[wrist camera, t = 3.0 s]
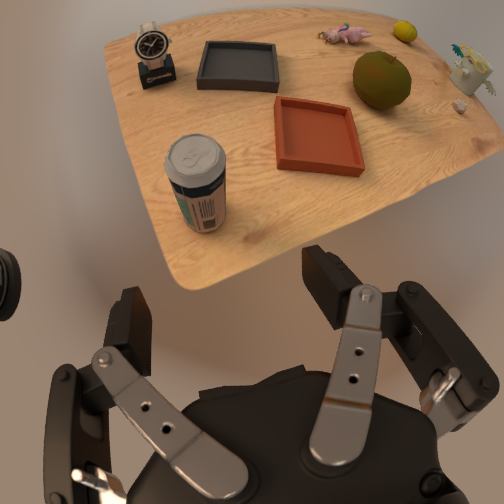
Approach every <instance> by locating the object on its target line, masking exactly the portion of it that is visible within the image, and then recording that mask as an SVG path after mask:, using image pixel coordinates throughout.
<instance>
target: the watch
mask: <svg viewBox="0 0 504 504" xmlns="http://www.w3.org/2000/svg"><path fill="white" fill-rule="evenodd" d="M169 43H172V40H171V38H169V39H168V37H167V36H166V35H165V33H164V32H163V31H162V30H161V28H160V27H159V26H156V23H155V22H151V23H147V24H144V25H140V31H139V32H138V34H137V39H136V42H135V46H134V48H135V53H136V55H137V56H138V57H139V58H140V59H141V61H142V62H139V63H138V69H139V76H140V80H141V83H142V87H143V90H144V89H147V88H150V87H153V86H157V85H160V84H163V83H167V82H170V81H174V80H176V74H175V67H174V63H173V60H172V57H171V54H166V53H167V50H168V46H169Z"/></svg>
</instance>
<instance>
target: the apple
mask: <svg viewBox="0 0 504 504" xmlns="http://www.w3.org/2000/svg"><path fill="white" fill-rule="evenodd" d="M411 80H412V79H411V77H410V74H409V72H408V70H407V68H406V67H405V66H404V65H403V64H402V63H401V62H400V61H399V60H397V59H396V56H395V58H394V57H393V56H391V55H389V54H387V53H385V52H381V51H376V52H369V53H366V54H364V55H363V56H361V57H360V58H358V60H357V61H356V63H355V67H354V71H353V82H354V88H355V91H356V93H357V94H358V95H359V97H360V98H361V99H362V100H364V101H365V102H366V103H367V104H369V105H371V106H372V107H375V108H378V109H385V110H387V109H389V108H392V107H394V106H396V105H398V104H401V103H402V102H403V101H404V100H405V99H406V98H407V97H408V96H409V95H410V90H411Z"/></svg>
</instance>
